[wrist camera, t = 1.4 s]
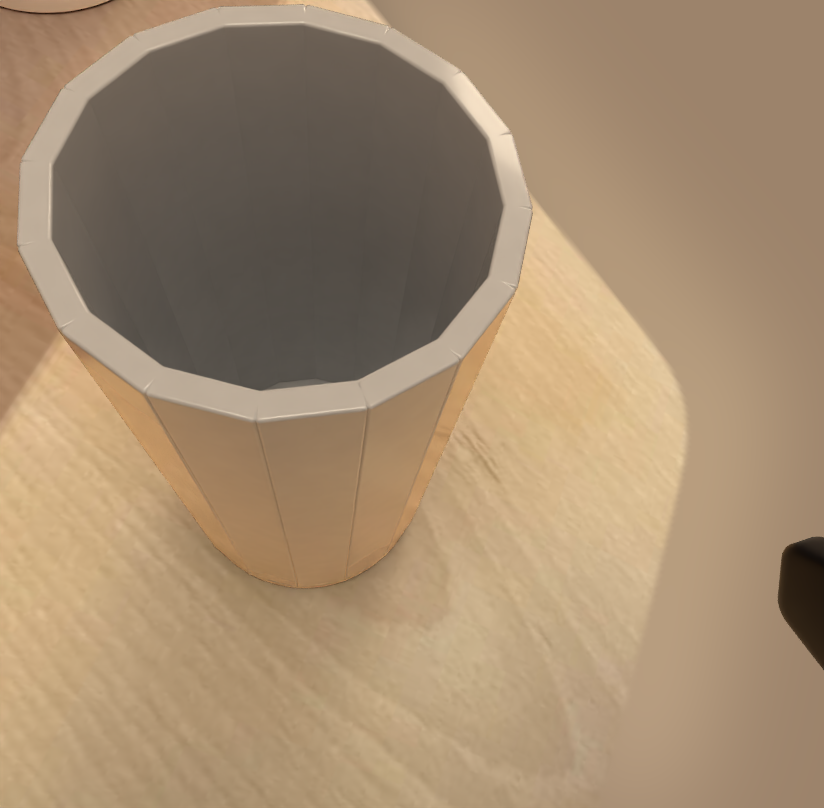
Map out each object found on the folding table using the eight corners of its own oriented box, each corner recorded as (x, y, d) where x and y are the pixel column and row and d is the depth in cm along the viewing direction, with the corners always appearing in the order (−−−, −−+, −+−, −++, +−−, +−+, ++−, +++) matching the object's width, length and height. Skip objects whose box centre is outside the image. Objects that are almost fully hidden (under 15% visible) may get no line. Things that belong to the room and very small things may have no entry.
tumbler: (459, 514, 21) (626, 272, 9) (261, 634, 20) (155, 522, 8) (349, 343, 23) (371, -46, 11) (158, 438, 21) (-62, 95, 9)
